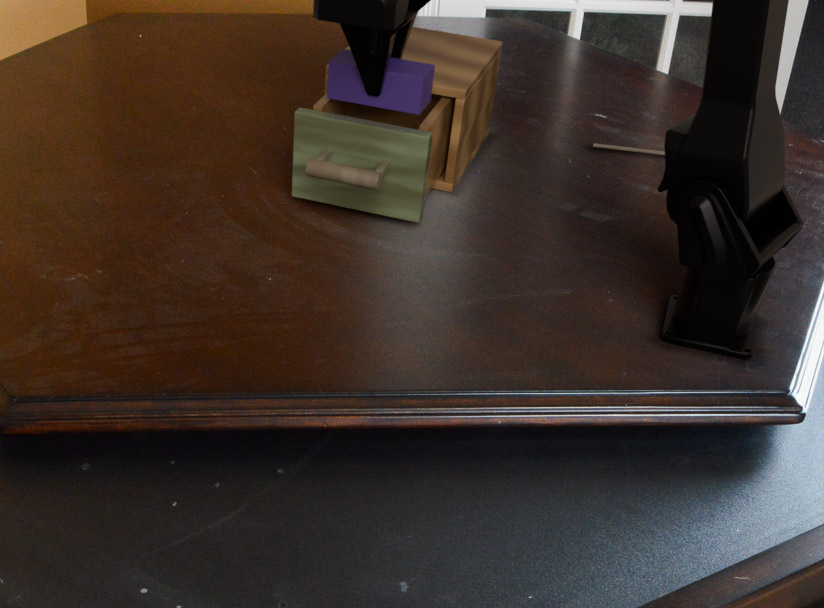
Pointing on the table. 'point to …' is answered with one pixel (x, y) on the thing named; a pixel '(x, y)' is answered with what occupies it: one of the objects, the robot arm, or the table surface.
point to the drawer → (371, 155)
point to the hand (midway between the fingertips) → (380, 88)
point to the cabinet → (458, 90)
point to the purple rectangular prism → (400, 91)
